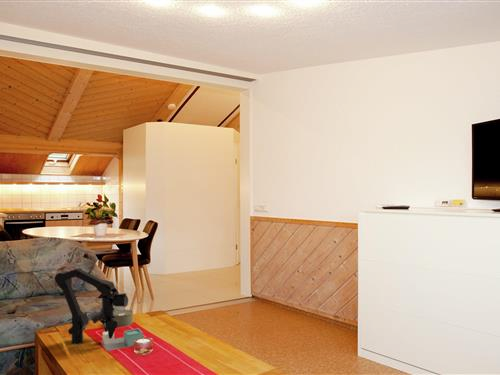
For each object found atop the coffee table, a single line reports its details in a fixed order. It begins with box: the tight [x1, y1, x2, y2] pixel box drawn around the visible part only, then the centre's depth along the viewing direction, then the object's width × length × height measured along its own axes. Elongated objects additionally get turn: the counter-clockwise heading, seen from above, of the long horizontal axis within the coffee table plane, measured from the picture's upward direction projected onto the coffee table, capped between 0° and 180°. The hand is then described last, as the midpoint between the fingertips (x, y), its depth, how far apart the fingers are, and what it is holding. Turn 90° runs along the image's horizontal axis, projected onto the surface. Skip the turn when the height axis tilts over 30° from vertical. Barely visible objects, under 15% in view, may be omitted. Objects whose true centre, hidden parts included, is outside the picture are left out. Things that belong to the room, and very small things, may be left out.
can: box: [113, 309, 134, 328], centre depth 269 cm, size 12×12×7 cm
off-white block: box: [102, 331, 116, 344], centre depth 234 cm, size 5×5×5 cm
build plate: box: [100, 327, 144, 352], centre depth 233 cm, size 16×19×7 cm
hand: (108, 335), depth 234 cm, fingers open, 9 cm apart
